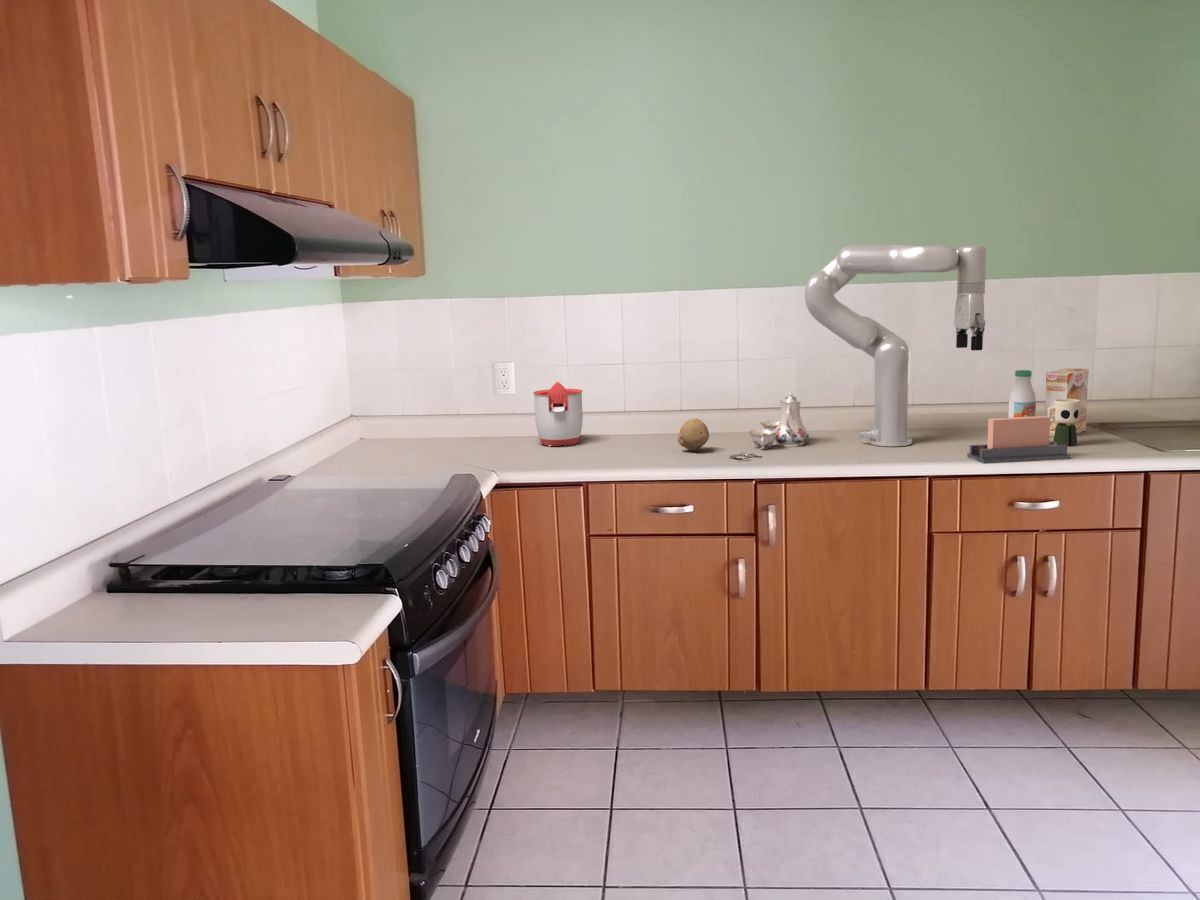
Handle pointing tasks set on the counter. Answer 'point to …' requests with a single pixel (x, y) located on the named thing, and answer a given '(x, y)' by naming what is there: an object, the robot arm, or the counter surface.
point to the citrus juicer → (558, 415)
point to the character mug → (1066, 419)
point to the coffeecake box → (1067, 392)
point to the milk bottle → (1022, 396)
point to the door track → (1018, 453)
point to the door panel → (1018, 432)
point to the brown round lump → (693, 435)
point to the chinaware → (783, 426)
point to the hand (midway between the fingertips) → (969, 348)
